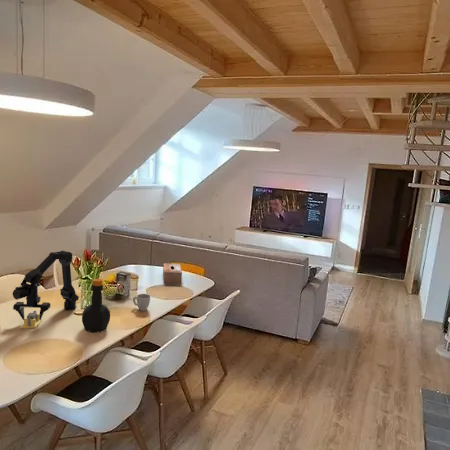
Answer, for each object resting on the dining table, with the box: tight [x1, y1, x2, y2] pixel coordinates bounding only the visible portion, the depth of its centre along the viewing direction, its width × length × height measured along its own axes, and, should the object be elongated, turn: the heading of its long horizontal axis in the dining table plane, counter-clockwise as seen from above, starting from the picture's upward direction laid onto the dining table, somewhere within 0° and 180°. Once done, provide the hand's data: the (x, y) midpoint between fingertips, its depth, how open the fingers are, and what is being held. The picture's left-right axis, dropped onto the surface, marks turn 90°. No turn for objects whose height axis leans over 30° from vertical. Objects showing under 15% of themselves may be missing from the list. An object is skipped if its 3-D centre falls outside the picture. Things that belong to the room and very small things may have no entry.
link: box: [26, 312, 38, 321], centre depth 223 cm, size 4×5×5 cm
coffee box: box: [115, 270, 132, 297], centre depth 283 cm, size 9×6×16 cm
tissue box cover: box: [162, 262, 183, 285], centre depth 329 cm, size 26×14×10 cm, turn 11°
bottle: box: [81, 278, 111, 334], centre depth 223 cm, size 16×16×30 cm
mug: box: [132, 293, 151, 312], centre depth 258 cm, size 12×9×10 cm
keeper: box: [20, 310, 43, 329], centre depth 223 cm, size 8×11×6 cm
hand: (32, 319), depth 224 cm, fingers open, 9 cm apart
